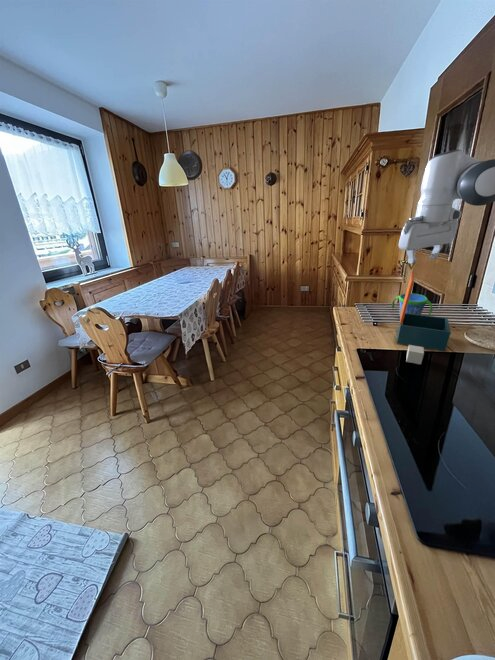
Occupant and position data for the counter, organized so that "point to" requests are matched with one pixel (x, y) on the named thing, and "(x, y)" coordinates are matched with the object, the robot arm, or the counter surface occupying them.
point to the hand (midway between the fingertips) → (422, 260)
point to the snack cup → (414, 303)
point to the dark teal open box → (424, 331)
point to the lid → (407, 297)
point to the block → (415, 354)
